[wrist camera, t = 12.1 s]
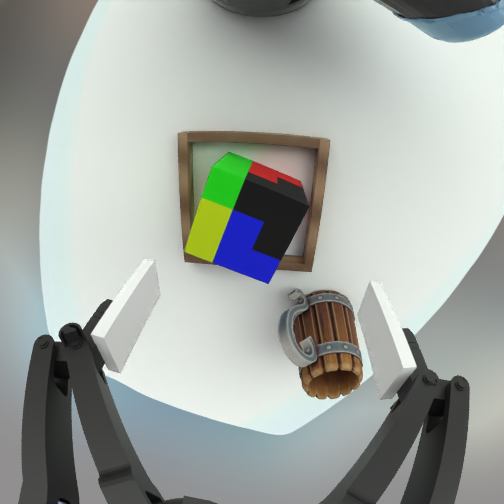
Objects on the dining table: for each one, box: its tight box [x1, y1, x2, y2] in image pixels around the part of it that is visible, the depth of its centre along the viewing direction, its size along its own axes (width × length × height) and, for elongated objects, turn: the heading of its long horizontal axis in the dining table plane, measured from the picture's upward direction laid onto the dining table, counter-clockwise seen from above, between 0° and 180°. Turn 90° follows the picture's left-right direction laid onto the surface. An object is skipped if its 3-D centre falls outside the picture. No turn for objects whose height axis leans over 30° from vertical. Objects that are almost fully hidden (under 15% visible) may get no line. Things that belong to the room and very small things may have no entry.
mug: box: [278, 289, 363, 399], centre depth 37 cm, size 16×11×15 cm
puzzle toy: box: [184, 152, 309, 284], centre depth 32 cm, size 10×10×10 cm
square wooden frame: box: [178, 131, 330, 272], centre depth 35 cm, size 18×18×2 cm
